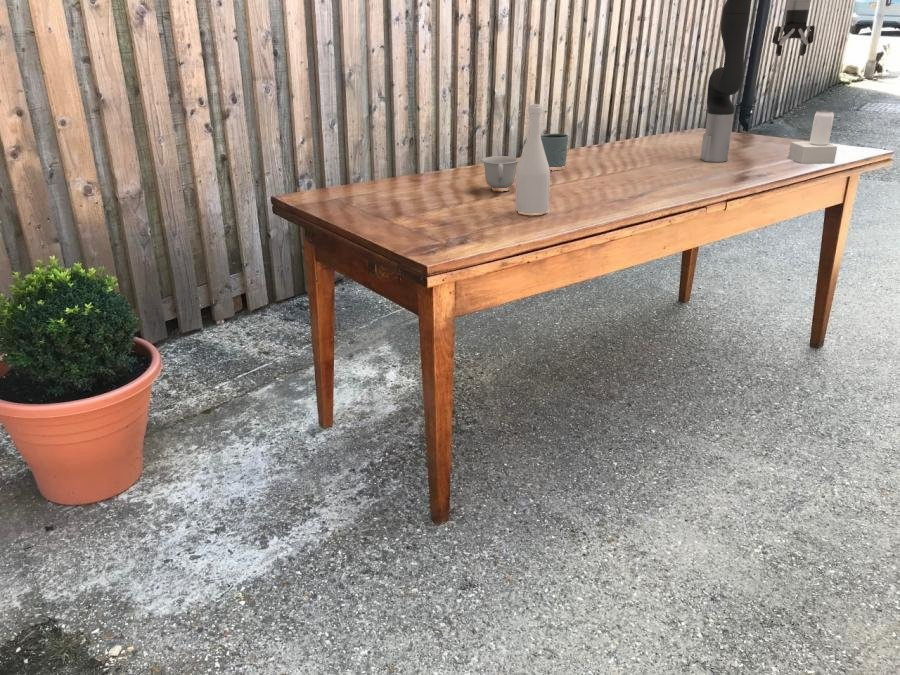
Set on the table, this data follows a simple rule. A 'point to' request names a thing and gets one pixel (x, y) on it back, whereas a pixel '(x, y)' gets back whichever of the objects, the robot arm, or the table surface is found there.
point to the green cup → (555, 149)
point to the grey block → (812, 152)
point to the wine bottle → (533, 169)
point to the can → (822, 127)
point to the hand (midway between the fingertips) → (790, 55)
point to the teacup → (500, 170)
